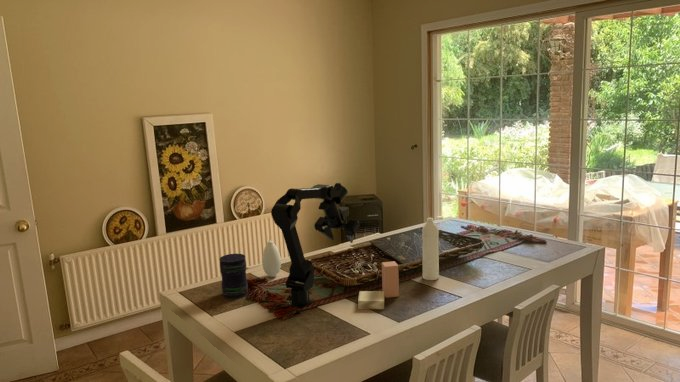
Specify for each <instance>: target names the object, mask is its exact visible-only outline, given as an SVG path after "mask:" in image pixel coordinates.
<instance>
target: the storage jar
mask: <svg viewBox="0 0 680 382" xmlns="http://www.w3.org/2000/svg"><path fill="white" fill-rule="evenodd" d="M219 271H220V275H221V291H222V297H223V298H224V299H226V300H238V299H242V298H244V297H247V295H249V291H248V290H249V285H248V284H249V283H248V279H247V262H246V255H245V254H242V253H229V254H225V255H223V256H220V257H219Z"/></svg>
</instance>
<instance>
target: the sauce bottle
mask: <svg viewBox="0 0 680 382" xmlns="http://www.w3.org/2000/svg"><path fill="white" fill-rule="evenodd" d="M261 258H262V259H261V264H262V269H263V271H264V273H265V274H266V275H267V276H268V277H271V278H274V277H276V276H277V275H278V274H279V273H280V270H281V269H282V268H281V267H282V258H281V254H280V250H279V249H278V247H277V245H276V244H275V242H274V241H273V240H271V237H269V240H268V241H267V242H266V245H265V247H264V249H263V252H262V257H261Z"/></svg>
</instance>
